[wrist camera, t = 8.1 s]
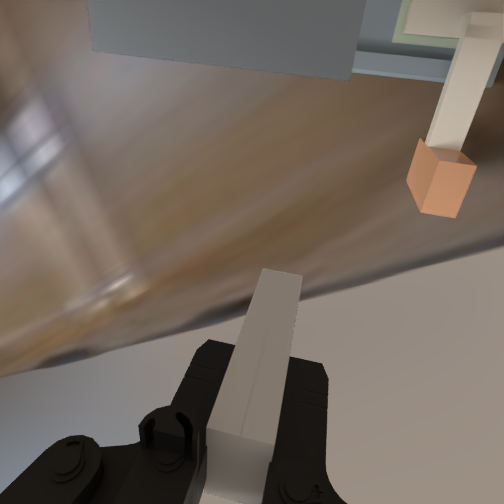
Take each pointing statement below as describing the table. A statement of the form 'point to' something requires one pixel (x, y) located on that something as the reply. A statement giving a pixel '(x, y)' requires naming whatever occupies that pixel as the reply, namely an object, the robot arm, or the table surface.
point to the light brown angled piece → (453, 96)
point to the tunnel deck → (276, 36)
